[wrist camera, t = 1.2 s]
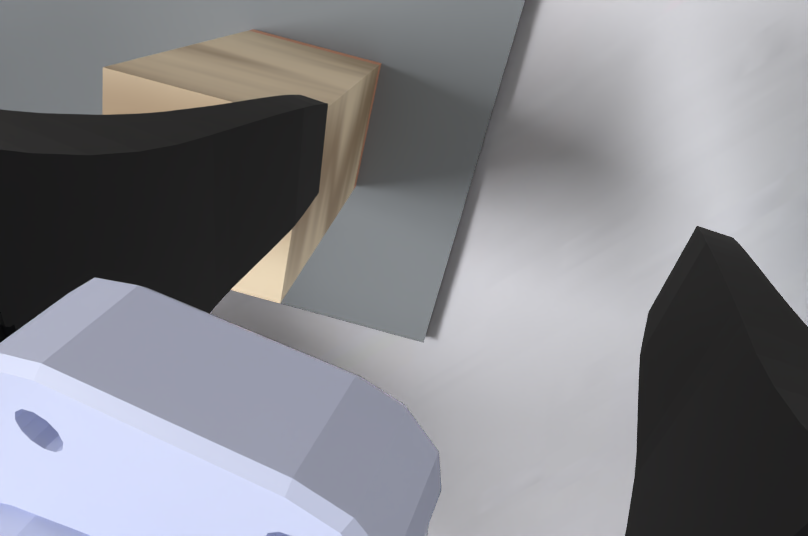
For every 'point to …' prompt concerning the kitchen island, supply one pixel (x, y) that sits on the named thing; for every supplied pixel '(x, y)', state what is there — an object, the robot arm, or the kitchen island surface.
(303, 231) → the beech block
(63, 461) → the robot arm
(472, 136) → the rubber mat
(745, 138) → the kitchen island surface
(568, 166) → the kitchen island surface
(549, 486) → the kitchen island surface
